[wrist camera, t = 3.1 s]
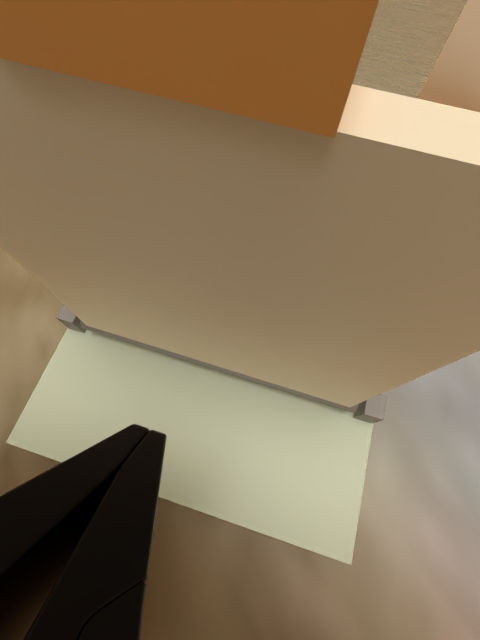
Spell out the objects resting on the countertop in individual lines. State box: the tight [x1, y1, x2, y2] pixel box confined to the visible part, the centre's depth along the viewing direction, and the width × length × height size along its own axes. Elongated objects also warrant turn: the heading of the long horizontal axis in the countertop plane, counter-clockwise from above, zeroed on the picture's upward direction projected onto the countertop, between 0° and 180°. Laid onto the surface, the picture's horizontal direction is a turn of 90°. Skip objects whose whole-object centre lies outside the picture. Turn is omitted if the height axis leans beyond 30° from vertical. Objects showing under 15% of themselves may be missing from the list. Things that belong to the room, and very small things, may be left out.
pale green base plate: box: [6, 304, 387, 565], centre depth 17 cm, size 17×15×2 cm
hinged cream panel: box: [0, 0, 480, 413], centre depth 9 cm, size 1×13×14 cm, turn 73°
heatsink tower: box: [352, 0, 467, 98], centre depth 12 cm, size 5×8×15 cm, turn 73°
